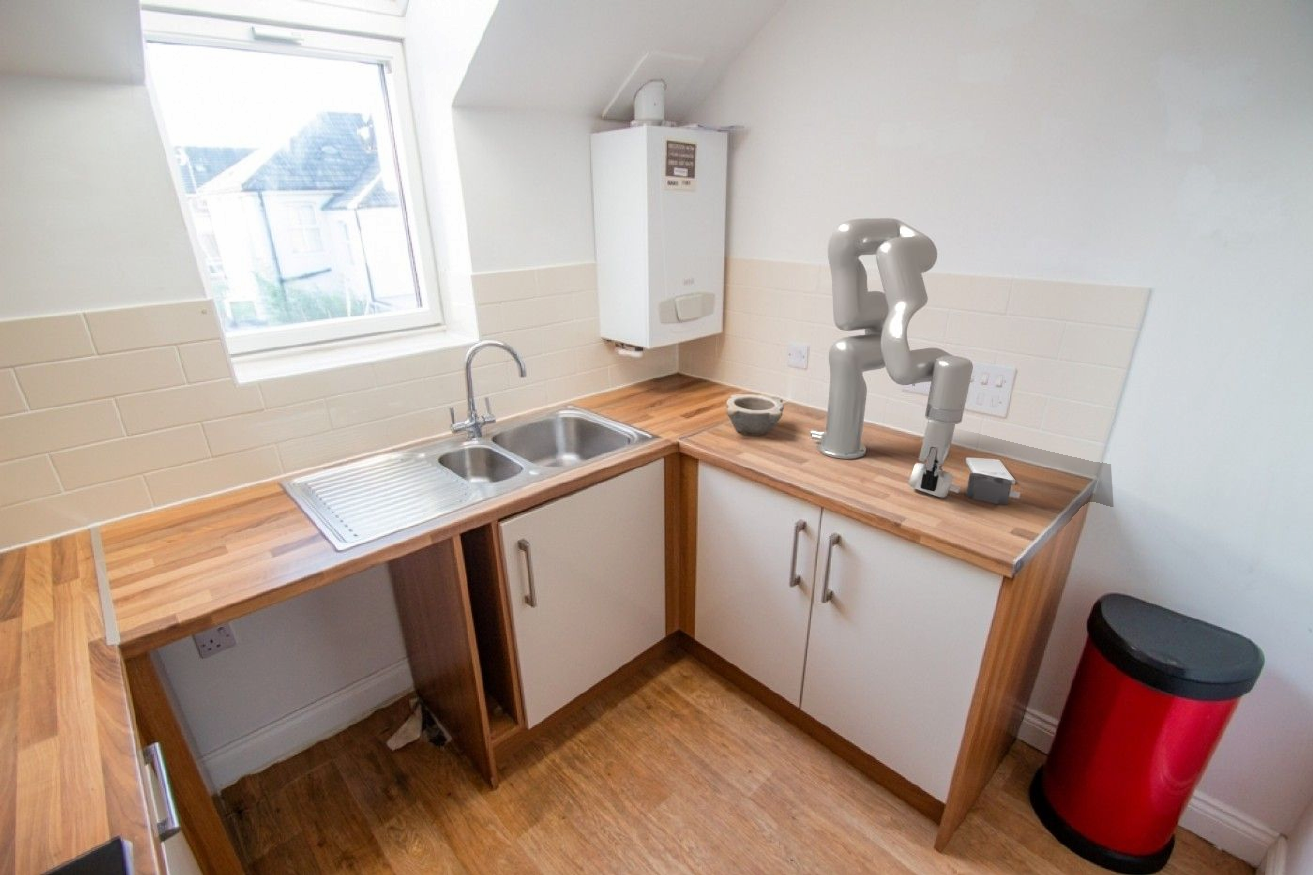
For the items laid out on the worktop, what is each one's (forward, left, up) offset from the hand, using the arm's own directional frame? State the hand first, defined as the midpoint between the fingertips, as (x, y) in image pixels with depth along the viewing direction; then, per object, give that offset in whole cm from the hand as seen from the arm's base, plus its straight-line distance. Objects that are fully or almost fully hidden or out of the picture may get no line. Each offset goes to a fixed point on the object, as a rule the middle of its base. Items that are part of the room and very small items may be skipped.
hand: (929, 485), depth 140 cm
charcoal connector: (+12, +5, -2) cm, 13 cm away
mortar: (-52, +16, -2) cm, 55 cm away
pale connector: (0, 0, -1) cm, 1 cm away
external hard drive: (+10, +21, -3) cm, 23 cm away
